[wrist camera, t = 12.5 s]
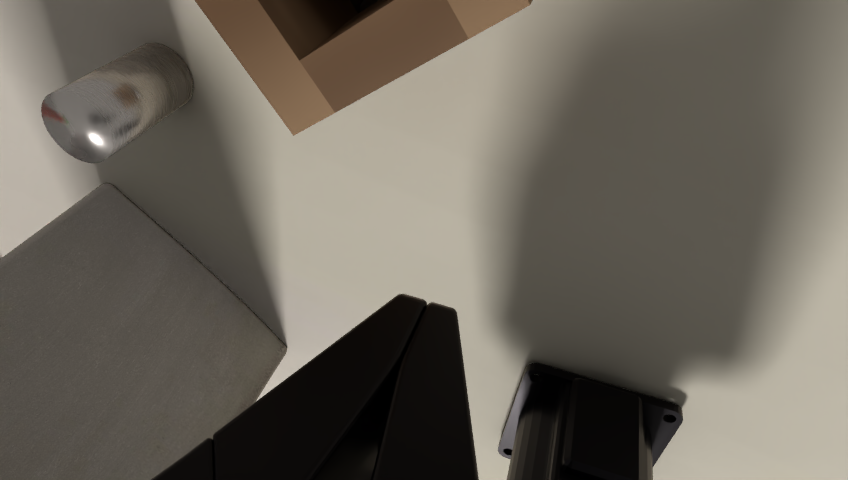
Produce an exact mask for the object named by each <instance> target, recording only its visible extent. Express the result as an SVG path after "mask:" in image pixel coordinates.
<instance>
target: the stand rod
mask: <svg viewBox="0 0 848 480" xmlns="http://www.w3.org/2000/svg"><path fill="white" fill-rule="evenodd" d="M193 88H194V86H193V79H192V75H191V73H190V70H189V69H188V67H187V65H186V64H185V62H184V61H183V60H182V58H181V57H180V56H179V55H178V54H177V53H175V52H174V51H173V50H171V49H170V48H168V47H166V46H164V45H161V44H157V43H148V44H145V45H143V46H141V47H139V48H137V49H135V50H133V51H131V52H130V53H128V54H126V55H124V56H122V57H120V58H118V59H116V60H114V61H112V62H110V63H108V64H106V65H105V66H103V67H101V68H99V69H97V70H95V71H93V72H91V73H89V74H87V75H85V76H83V77H81V78H80V79H78V80H76V81H74V82H72V83H70V84H68V85H66V86H64V87H62V88H60V89H58V90H56V91H55V92H53V93H51V94H49V95H47V96H46V97H45V99H44V100H43V103H42V107H41V112H42V118H43V121H44V124H45V126H46V128H47V130H48V132H49V134H50V135H51V137H52V138H53V139H54V140H55V142H56V143H57V144H58V145H59V146H60V147H61V148H62V149H63V150H65V151H66V152H67V153H68V154H70V155H71V156H73V157H75V158H77V159H79V160H81V161H84V162H88V163H99V162H102V161H104V160H105V159H107V158H108V157H109V156H111V155H112V154H114V153H115V152H117V151H118V150H120V149H121V148H122V147H124V146H125V145H127V144H128V143H130V142H131V141H132V140H134V139H135V138H137V137H138V136H140V135H141V134H143V133H144V132H145V131H147V130H148V129H150V128H151V127H153V126H154V125H155V124H157V123H158V122H160V121H161V120H163V119H164V118H166V117H167V116H168V115H170V114H171V113H173V112H174V111H176V110H177V109H178V108H180V107H181V106H183V105H184V104H186V103H187V102H188V101H189V100H190V98H191V97H192V94H193Z"/></svg>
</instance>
